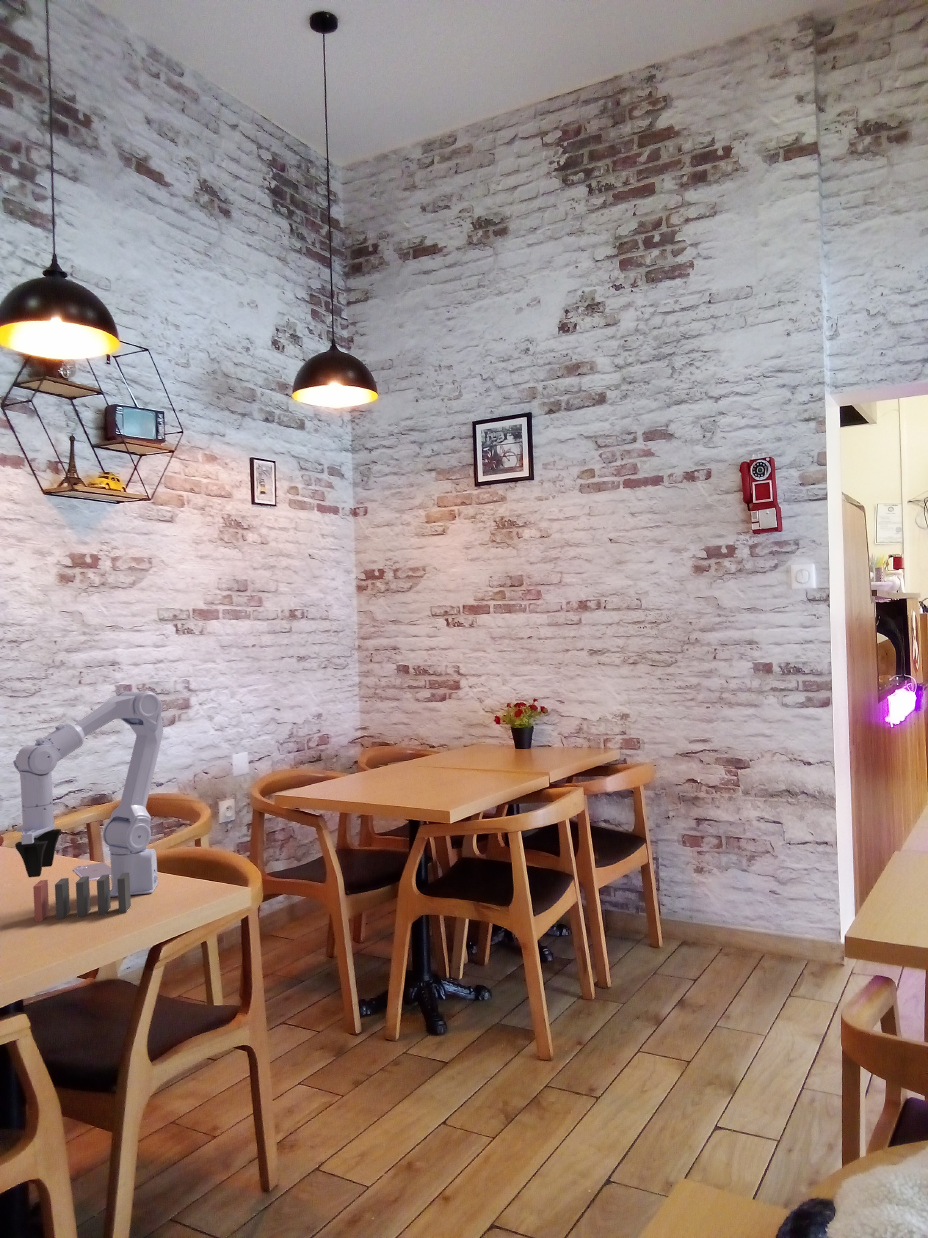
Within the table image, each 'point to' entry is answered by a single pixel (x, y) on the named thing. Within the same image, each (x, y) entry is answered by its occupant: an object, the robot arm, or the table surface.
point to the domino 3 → (103, 894)
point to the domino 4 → (124, 892)
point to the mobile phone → (93, 870)
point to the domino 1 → (62, 898)
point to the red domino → (41, 900)
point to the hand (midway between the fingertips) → (40, 871)
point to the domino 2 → (83, 896)
